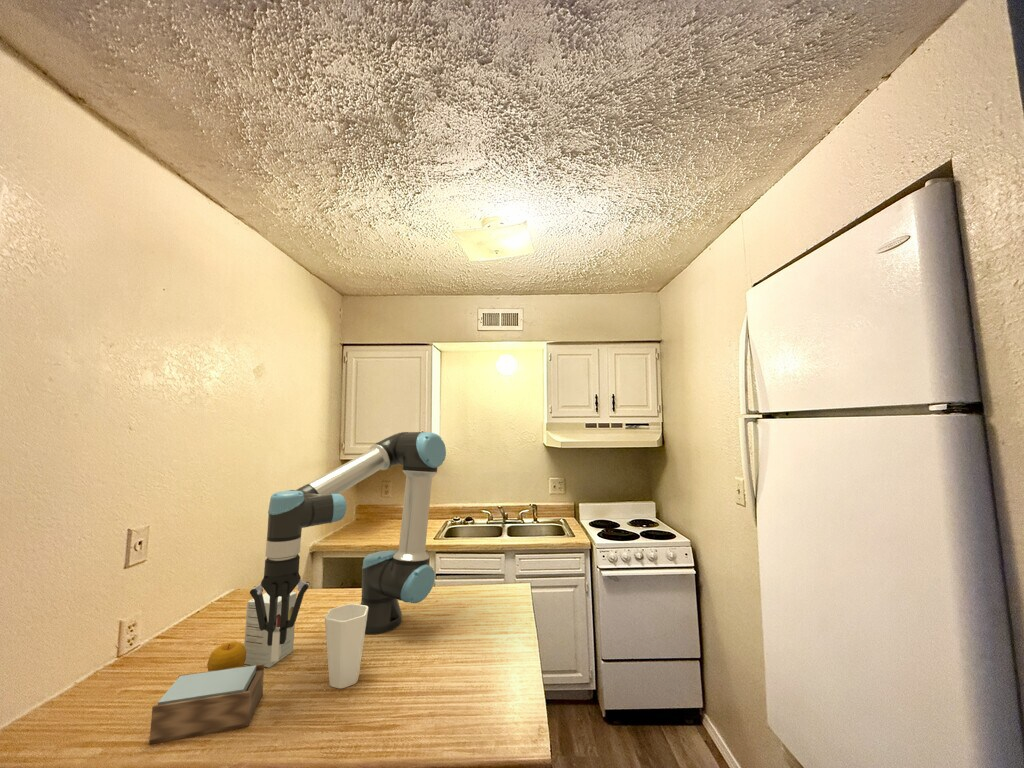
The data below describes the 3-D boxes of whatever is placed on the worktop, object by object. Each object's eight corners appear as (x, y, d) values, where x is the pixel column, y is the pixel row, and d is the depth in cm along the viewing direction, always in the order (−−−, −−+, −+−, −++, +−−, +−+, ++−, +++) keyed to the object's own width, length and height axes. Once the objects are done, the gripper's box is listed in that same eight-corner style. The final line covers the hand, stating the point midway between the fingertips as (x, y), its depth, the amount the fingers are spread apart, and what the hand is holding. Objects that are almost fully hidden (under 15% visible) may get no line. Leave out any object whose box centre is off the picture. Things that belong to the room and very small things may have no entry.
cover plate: (256, 671, 103) (256, 665, 104) (242, 696, 94) (243, 689, 94) (179, 682, 99) (179, 676, 99) (157, 709, 89) (157, 702, 89)
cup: (374, 673, 113) (376, 607, 115) (348, 696, 103) (351, 623, 105) (340, 666, 117) (343, 601, 118) (312, 687, 107) (316, 616, 109)
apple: (214, 694, 104) (217, 656, 105) (199, 683, 109) (202, 647, 110) (251, 676, 111) (253, 641, 112) (235, 667, 116) (237, 633, 117)
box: (262, 694, 104) (264, 663, 105) (247, 727, 93) (249, 692, 93) (176, 707, 99) (179, 675, 100) (149, 744, 88) (152, 707, 88)
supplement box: (269, 668, 115) (273, 604, 117) (241, 664, 117) (245, 601, 119) (294, 650, 125) (297, 591, 126) (267, 647, 126) (271, 588, 128)
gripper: (314, 550, 109) (308, 647, 106) (257, 553, 105) (249, 654, 102) (309, 558, 101) (302, 662, 99) (248, 562, 98) (239, 671, 95)
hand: (275, 658), depth 100 cm, fingers closed
